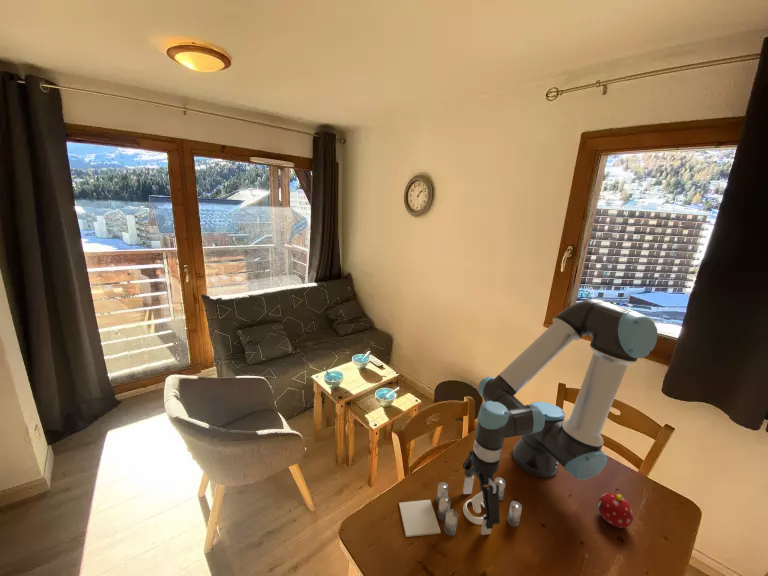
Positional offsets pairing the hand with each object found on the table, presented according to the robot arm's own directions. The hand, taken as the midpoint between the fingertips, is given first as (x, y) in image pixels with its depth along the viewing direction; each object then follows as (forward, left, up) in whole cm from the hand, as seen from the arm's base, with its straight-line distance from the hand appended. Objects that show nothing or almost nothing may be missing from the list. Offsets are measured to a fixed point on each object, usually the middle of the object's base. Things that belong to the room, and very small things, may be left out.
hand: (475, 511), depth 97 cm
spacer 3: (+10, +4, 0) cm, 11 cm away
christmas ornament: (-41, +7, 0) cm, 42 cm away
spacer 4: (-10, -5, 0) cm, 11 cm away
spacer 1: (+9, -5, 0) cm, 10 cm away
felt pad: (+18, 0, 0) cm, 18 cm away
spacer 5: (-10, +4, 0) cm, 11 cm away
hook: (0, 0, 0) cm, 0 cm away
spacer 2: (+10, 0, 0) cm, 10 cm away
